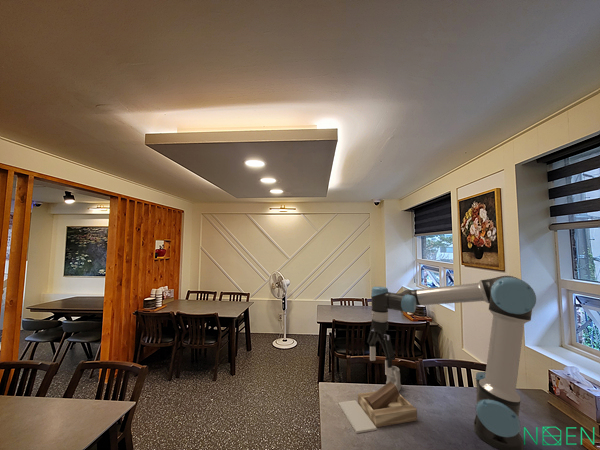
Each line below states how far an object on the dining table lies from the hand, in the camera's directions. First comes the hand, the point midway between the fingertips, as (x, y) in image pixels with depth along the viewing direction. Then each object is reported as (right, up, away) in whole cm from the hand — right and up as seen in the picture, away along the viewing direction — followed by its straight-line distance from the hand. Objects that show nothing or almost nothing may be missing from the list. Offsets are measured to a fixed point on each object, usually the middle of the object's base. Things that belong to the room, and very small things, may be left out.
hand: (380, 367), depth 112 cm
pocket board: (+2, -19, -2) cm, 19 cm away
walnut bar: (+2, -15, -2) cm, 15 cm away
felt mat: (-13, -19, -6) cm, 23 cm away
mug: (+13, -22, +16) cm, 30 cm away
